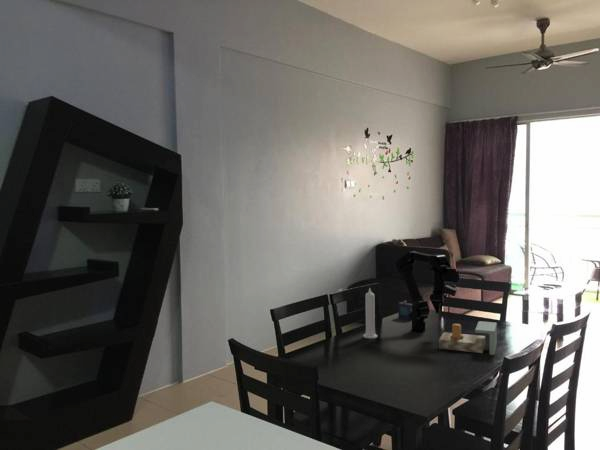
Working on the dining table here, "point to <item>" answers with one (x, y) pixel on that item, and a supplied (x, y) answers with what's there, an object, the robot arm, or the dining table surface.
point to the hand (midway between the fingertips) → (439, 311)
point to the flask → (404, 310)
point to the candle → (370, 315)
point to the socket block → (462, 342)
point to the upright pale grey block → (490, 329)
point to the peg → (456, 331)
